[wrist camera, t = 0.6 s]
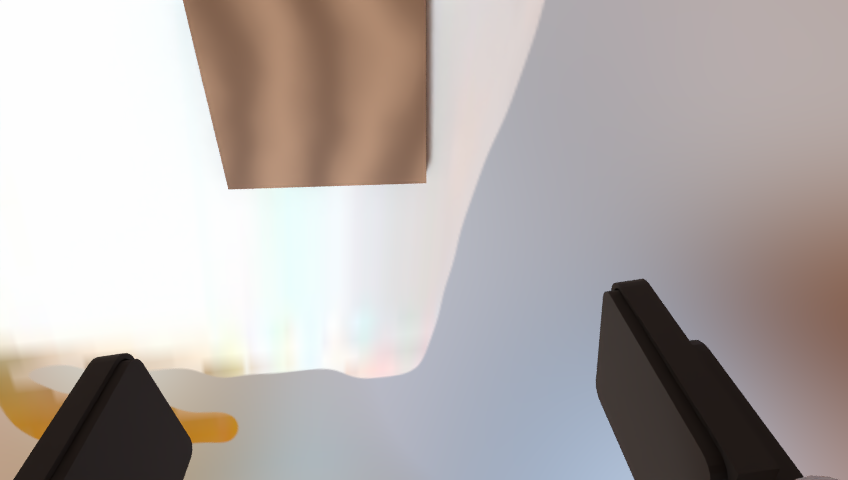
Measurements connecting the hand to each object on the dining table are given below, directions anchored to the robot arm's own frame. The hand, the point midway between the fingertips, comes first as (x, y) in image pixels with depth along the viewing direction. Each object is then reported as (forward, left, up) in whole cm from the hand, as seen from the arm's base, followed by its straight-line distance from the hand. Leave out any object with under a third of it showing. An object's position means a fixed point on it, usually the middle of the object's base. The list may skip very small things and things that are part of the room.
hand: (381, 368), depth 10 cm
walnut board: (-5, -4, -32) cm, 32 cm away
